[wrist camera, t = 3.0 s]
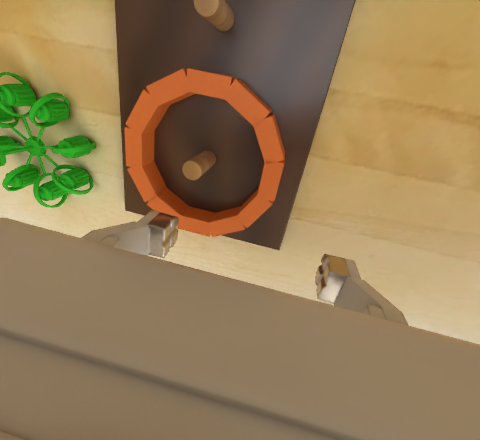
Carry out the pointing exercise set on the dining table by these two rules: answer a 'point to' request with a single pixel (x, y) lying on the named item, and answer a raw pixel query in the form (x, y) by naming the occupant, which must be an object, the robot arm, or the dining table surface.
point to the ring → (148, 175)
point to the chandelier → (40, 143)
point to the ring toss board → (219, 110)
